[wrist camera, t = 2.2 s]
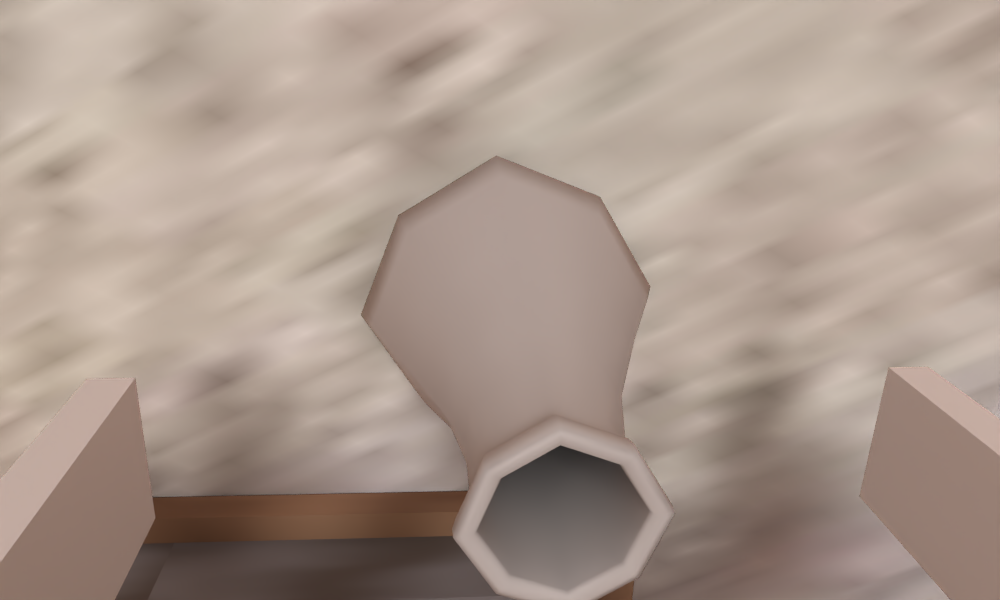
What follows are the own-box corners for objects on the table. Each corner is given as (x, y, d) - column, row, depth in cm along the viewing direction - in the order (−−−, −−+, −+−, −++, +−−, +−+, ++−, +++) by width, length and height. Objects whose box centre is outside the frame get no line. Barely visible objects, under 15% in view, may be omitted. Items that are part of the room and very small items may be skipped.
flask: (518, 461, 23) (577, 771, 14) (313, 315, 21) (221, 565, 12) (694, 278, 22) (894, 489, 12) (491, 100, 20) (547, 194, 10)
